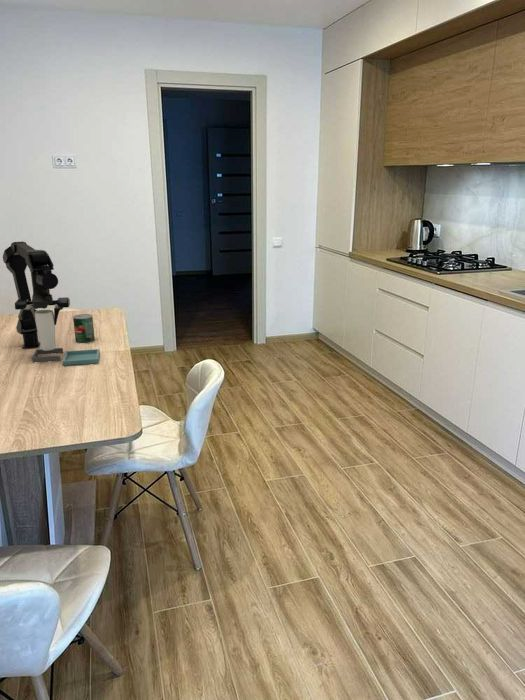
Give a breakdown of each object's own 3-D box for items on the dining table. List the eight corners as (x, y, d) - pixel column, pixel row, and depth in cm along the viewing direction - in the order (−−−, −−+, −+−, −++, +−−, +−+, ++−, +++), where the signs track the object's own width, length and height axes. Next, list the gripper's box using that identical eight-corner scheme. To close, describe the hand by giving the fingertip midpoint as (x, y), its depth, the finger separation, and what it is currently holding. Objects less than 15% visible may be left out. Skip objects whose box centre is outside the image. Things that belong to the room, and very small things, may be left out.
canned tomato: (97, 338, 226) (95, 314, 222) (90, 344, 218) (87, 318, 215) (80, 338, 227) (77, 313, 223) (72, 343, 219) (69, 318, 216)
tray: (66, 356, 203) (65, 351, 202) (99, 353, 206) (99, 349, 205) (62, 366, 191) (62, 361, 191) (98, 364, 194) (97, 359, 194)
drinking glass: (51, 352, 196) (46, 314, 192) (35, 351, 198) (30, 313, 193) (61, 347, 203) (57, 309, 198) (45, 345, 204) (41, 308, 199)
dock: (36, 354, 205) (36, 349, 204) (63, 352, 207) (62, 347, 206) (32, 362, 195) (31, 357, 194) (60, 360, 197) (59, 355, 197)
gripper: (9, 290, 183) (15, 332, 188) (64, 288, 187) (69, 329, 192) (15, 284, 193) (20, 324, 198) (67, 282, 197) (72, 322, 202)
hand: (45, 325), depth 197 cm, fingers closed on drinking glass, 7 cm apart
